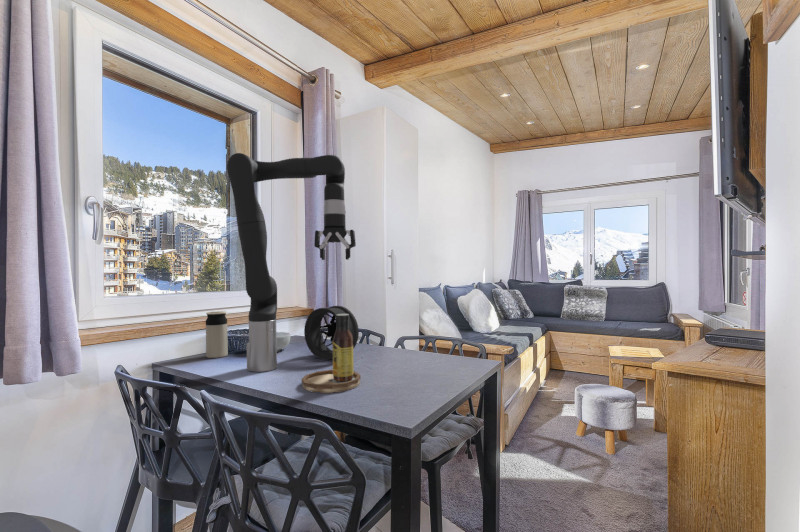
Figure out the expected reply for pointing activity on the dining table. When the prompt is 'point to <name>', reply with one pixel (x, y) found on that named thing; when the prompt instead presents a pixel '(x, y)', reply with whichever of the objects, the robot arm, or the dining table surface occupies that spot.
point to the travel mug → (216, 334)
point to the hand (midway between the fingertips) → (335, 259)
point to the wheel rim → (314, 331)
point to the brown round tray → (328, 382)
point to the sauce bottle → (342, 350)
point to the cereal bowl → (282, 339)
